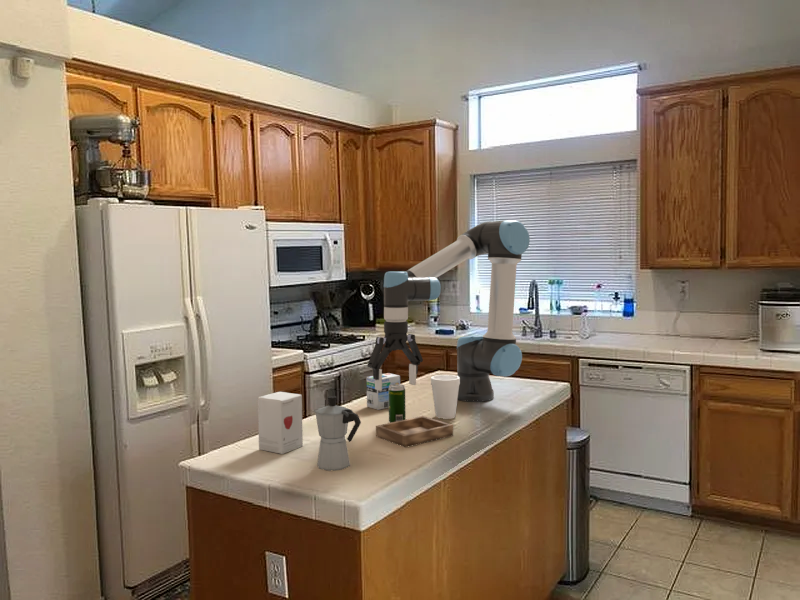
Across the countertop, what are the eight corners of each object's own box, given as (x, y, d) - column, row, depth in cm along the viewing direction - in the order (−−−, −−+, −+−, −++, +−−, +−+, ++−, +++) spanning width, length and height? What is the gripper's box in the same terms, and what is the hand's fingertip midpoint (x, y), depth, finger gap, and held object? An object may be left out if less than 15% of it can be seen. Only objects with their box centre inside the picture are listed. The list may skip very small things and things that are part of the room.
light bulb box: (378, 410, 226) (377, 379, 226) (366, 407, 231) (365, 376, 231) (401, 405, 234) (400, 375, 233) (388, 401, 239) (388, 372, 238)
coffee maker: (303, 466, 169) (301, 397, 168) (324, 456, 177) (323, 390, 175) (350, 475, 162) (349, 403, 160) (370, 465, 169) (369, 396, 168)
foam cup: (458, 420, 211) (457, 380, 210) (429, 419, 213) (429, 380, 212) (461, 413, 221) (460, 375, 220) (433, 412, 223) (433, 374, 222)
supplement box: (282, 454, 179) (280, 400, 178) (258, 449, 184) (256, 397, 182) (304, 446, 186) (302, 394, 185) (280, 441, 191) (278, 390, 190)
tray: (422, 425, 206) (422, 415, 206) (453, 435, 195) (452, 425, 195) (376, 436, 195) (375, 425, 195) (405, 447, 184) (405, 436, 184)
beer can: (408, 423, 209) (408, 386, 208) (393, 425, 206) (392, 388, 205) (401, 419, 213) (400, 383, 213) (386, 421, 211) (385, 385, 210)
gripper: (419, 317, 218) (418, 380, 219) (356, 322, 203) (356, 390, 204) (433, 319, 212) (433, 384, 213) (370, 324, 197) (370, 394, 198)
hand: (395, 387), depth 209 cm, fingers open, 13 cm apart
